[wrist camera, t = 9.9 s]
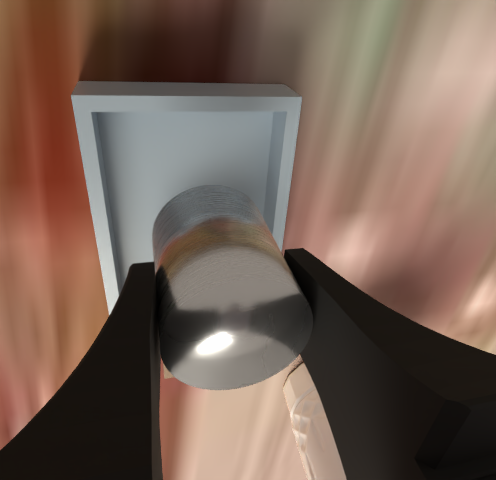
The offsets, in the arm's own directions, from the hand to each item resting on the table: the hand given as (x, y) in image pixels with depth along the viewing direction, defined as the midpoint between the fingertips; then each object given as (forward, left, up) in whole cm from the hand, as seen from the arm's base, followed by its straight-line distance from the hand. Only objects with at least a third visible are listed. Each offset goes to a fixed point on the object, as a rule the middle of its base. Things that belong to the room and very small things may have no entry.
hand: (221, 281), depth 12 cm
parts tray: (0, -3, -9) cm, 9 cm away
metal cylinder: (0, 0, -2) cm, 2 cm away
